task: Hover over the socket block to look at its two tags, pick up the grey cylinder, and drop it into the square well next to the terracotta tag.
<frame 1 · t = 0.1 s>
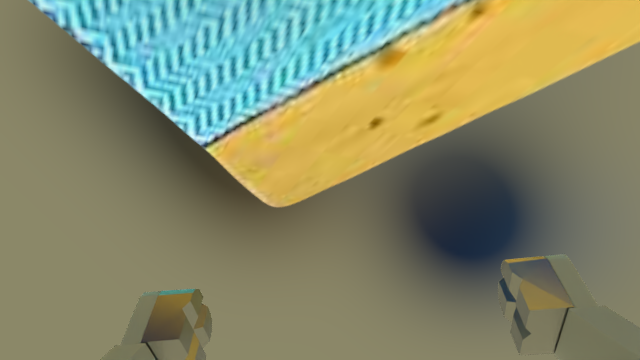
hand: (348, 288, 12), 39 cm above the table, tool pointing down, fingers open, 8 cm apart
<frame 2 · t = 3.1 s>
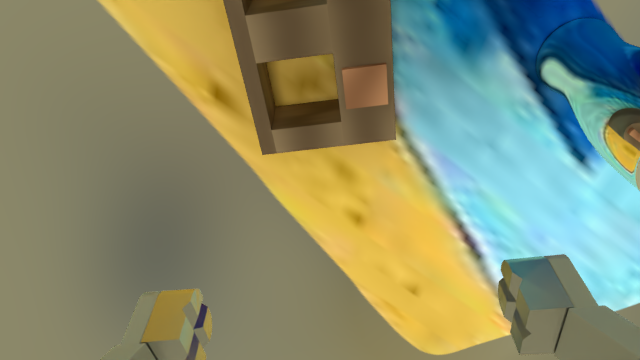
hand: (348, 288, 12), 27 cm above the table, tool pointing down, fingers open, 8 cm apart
socket block: (312, 14, 34), on the table
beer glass: (573, 54, 36), on the table
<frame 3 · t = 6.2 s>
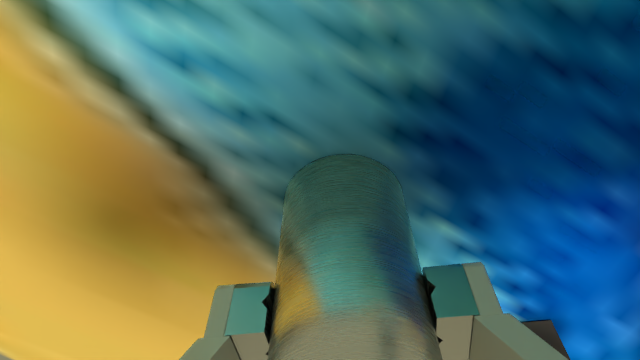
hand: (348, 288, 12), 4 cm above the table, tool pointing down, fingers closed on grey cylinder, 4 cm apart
grey cylinder: (343, 203, 15), on the table, touching gripper
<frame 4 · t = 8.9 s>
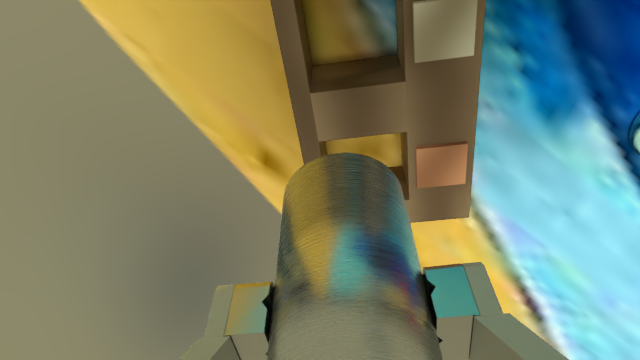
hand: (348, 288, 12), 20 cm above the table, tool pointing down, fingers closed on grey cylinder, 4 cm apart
grey cylinder: (343, 202, 15), point 17 cm above the table, touching gripper
socket block: (379, 81, 30), on the table
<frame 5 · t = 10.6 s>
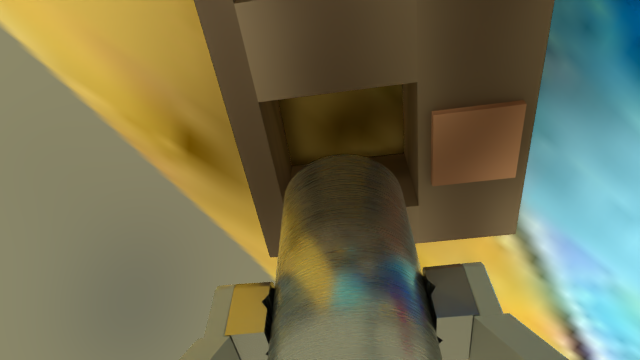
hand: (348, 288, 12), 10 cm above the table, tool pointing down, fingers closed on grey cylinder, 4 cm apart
grey cylinder: (343, 204, 15), point 7 cm above the table, touching gripper
socket block: (366, 4, 18), on the table
when the fingers open (6 cm above the table, at t = 12.0 s): grey cylinder drops 2 cm, resting in socket block.
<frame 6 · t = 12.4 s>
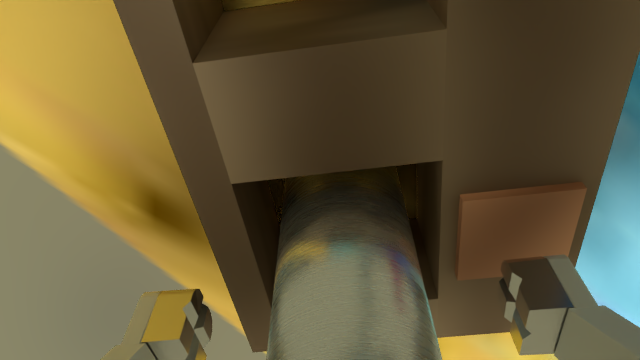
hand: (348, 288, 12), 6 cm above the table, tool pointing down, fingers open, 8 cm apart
grey cylinder: (340, 169, 17), resting in socket block
socket block: (373, 47, 14), on the table
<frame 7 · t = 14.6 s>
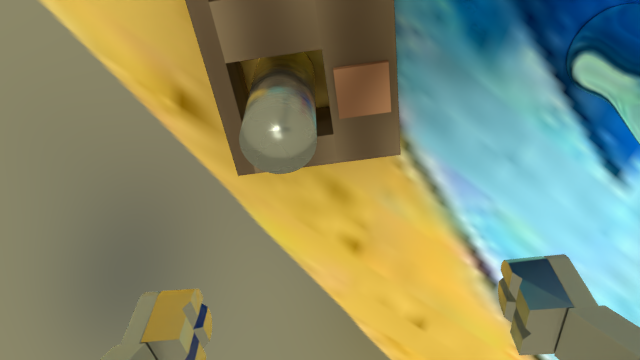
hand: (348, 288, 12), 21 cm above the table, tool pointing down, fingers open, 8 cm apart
grey cylinder: (285, 74, 30), resting in socket block
socket block: (295, 3, 28), on the table
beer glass: (610, 48, 30), on the table
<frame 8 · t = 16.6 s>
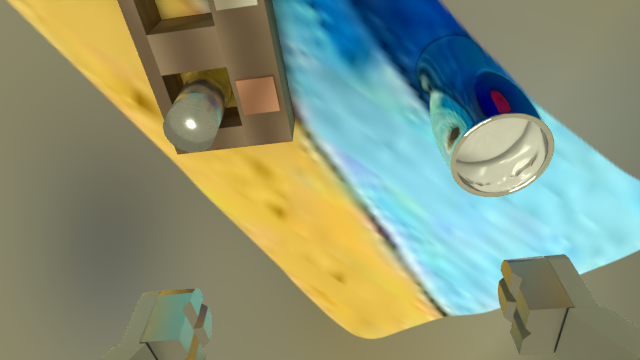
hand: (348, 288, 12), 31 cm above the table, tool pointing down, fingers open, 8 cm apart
grey cylinder: (212, 81, 42), resting in socket block
socket block: (214, 32, 39), on the table
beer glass: (448, 66, 41), on the table
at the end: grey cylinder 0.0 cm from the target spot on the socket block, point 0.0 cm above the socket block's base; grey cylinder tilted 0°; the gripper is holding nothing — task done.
